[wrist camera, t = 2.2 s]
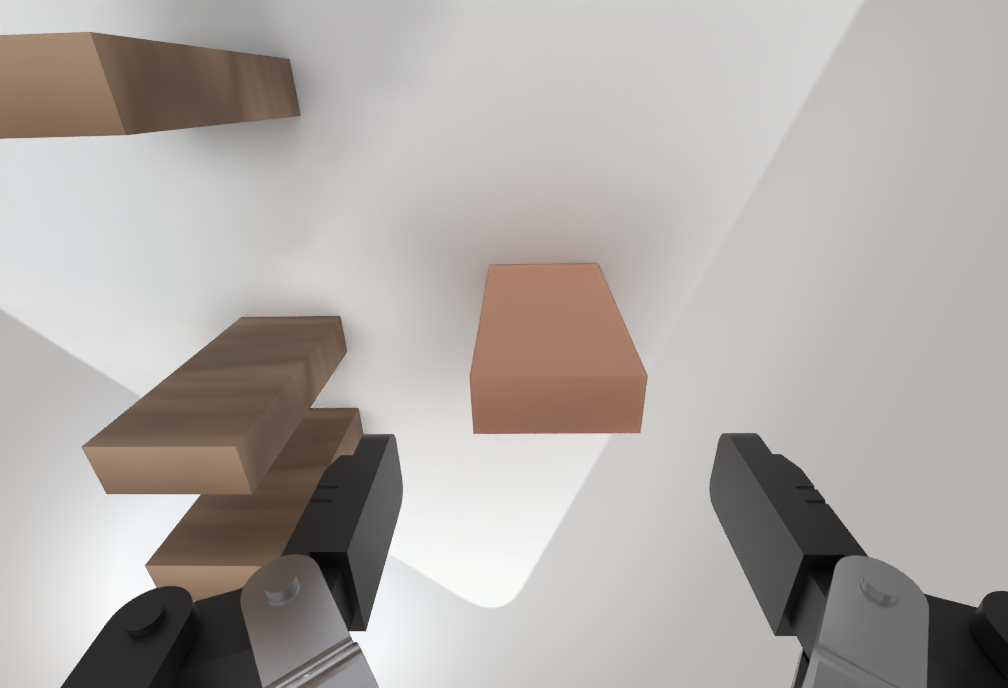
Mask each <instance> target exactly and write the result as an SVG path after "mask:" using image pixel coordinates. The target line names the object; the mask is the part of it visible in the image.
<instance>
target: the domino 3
mask: <svg viewBox="0 0 1008 688" xmlns="http://www.w3.org/2000/svg"><path fill="white" fill-rule="evenodd" d="M362 435H363V430H362V425H361V420H360V415H359V409H358V408H326V409H309V410H308V411H307V413H306V414H305V416H304V417H303V419H302V420H301V422H300V423H299V425H298V426H297V428H296V429H295V431H294V432H293V434H292V435H291V437H290V438H289V440H288V441H287V443H286V444H285V446H284V447H283V449H282V450H281V452H280V453H279V455H278V456H277V458H276V459H275V461H274V462H273V464H272V465H271V467H270V469H269V470H268V472H267V473H266V475H265V476H264V478H263V479H262V481H261V482H260V484H259V485H258V487H257V488H256V490H255V491H254V493H253V494H201V495H200V496H199V498H198V499H197V500H196V501H195V503H194V504H193V505H192V506H191V508H190V509H189V510H188V511H187V513H186V514H185V515H184V517H183V518H182V519H181V520H180V522H179V523H178V524H177V526H176V527H175V528H174V529H173V531H172V532H171V533H170V534H169V536H168V537H167V538H166V539H165V541H164V542H163V544H162V545H161V546H160V547H159V548H158V550H157V551H156V552H155V553H154V555H153V556H152V557H151V558H150V560H149V561H148V562H147V564H146V565H145V567H146V568H147V570H148V572H149V574H150V576H151V578H152V579H153V581H154V583H155V585H156V587H157V588H159V587H164V586H178V587H182V588H184V589H186V590H187V591H188V592H189V593H190V595H191V597H192V599H193V601H198V600H201V599H205V598H209V597H212V596H216V595H219V594H223V593H227V592H230V591H234V590H237V589H240V588H242V587H244V586H245V584H246V582H247V581H248V579H249V578H250V577H251V576H252V575H253V574H254V573H255V572H256V571H257V570H258V569H259V568H260V567H262V566H263V565H265V564H266V563H268V562H270V561H272V560H274V559H276V558H279V557H280V556H281V554H282V553H283V551H284V549H285V547H286V545H287V543H288V541H289V539H290V537H291V535H292V533H293V531H294V529H295V527H296V525H297V523H298V521H299V519H300V517H301V516H302V514H303V512H304V510H305V508H306V506H307V504H308V503H309V502H310V498H311V496H312V494H313V492H314V490H315V489H317V484H318V482H319V480H320V479H321V477H322V475H323V473H324V471H325V469H326V468H327V467H328V466H330V465H331V464H332V463H333V462H334V461H335V460H336V459H337V458H338V457H339V456H340V455H353V454H354V452H355V450H356V447H357V445H358V443H359V441H360V439H361V437H362Z"/></svg>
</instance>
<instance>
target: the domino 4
mask: <svg viewBox="0 0 1008 688" xmlns="http://www.w3.org/2000/svg"><path fill="white" fill-rule="evenodd" d="M646 384H647V373H646V371H645V369H644V367H643V364H642V362H641V360H640V358H639V355H638V353H637V351H636V348H635V346H634V344H633V342H632V339H631V337H630V335H629V333H628V330H627V328H626V326H625V324H624V321H623V319H622V317H621V315H620V312H619V310H618V308H617V306H616V303H615V301H614V299H613V297H612V294H611V292H610V290H609V288H608V285H607V283H606V281H605V278H604V276H603V274H602V272H601V269H600V267H599V265H598V263H573V264H515V265H489V270H488V276H487V281H486V287H485V293H484V298H483V304H482V310H481V315H480V321H479V327H478V332H477V338H476V344H475V349H474V355H473V361H472V366H471V372H470V390H471V404H472V418H473V432H474V434H521V433H640V432H641V424H642V416H643V408H644V400H645V392H646Z"/></svg>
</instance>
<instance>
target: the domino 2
mask: <svg viewBox="0 0 1008 688" xmlns="http://www.w3.org/2000/svg"><path fill="white" fill-rule="evenodd" d="M346 353H347V349H346V344H345V339H344V334H343V329H342V324H341V318H340V316H312V317H241V318H240V319H239V320H237V321H236V322H235V323H234V324H232V325H231V326H230V327H229V328H227V329H226V330H225V331H224V332H223V333H221V334H220V335H219V336H218V337H216V338H215V339H214V340H213V341H211V342H210V343H209V344H208V345H207V346H205V347H204V348H203V349H202V350H200V351H199V352H198V353H197V354H195V355H194V356H193V357H192V358H191V359H189V360H188V361H187V362H186V363H184V364H183V365H182V366H181V367H179V368H178V369H177V370H176V371H174V372H173V373H172V374H171V375H170V376H168V377H167V378H166V379H165V380H163V381H162V382H161V383H160V384H158V385H157V386H156V387H155V388H154V389H152V390H151V391H150V392H149V393H147V394H146V395H145V396H144V397H142V398H141V399H140V400H139V401H138V402H136V403H135V404H134V405H133V406H132V407H130V408H129V409H128V410H126V411H125V412H124V413H123V414H122V415H120V416H119V417H118V418H117V419H115V420H114V421H113V422H112V423H111V424H109V425H108V426H107V427H106V428H104V429H103V430H102V431H101V432H99V433H98V434H97V435H96V436H95V437H93V438H92V439H91V440H90V441H88V442H87V443H86V444H85V445H83V446H82V448H83V450H84V452H85V454H86V456H87V458H88V460H89V462H90V463H91V465H92V467H93V469H94V471H95V473H96V475H97V477H98V479H99V481H100V482H101V484H102V486H103V488H104V490H105V492H106V493H107V494H253V493H254V491H255V490H256V488H257V487H258V485H259V484H260V482H261V481H262V479H263V478H264V476H265V475H266V473H267V472H268V470H269V469H270V467H271V465H272V464H273V462H274V461H275V459H276V458H277V456H278V455H279V453H280V452H281V450H282V449H283V447H284V446H285V444H286V443H287V441H288V440H289V438H290V437H291V435H292V434H293V432H294V431H295V429H296V428H297V426H298V425H299V423H300V422H301V420H302V419H303V417H304V416H305V414H306V413H307V411H308V410H309V408H310V407H311V405H312V404H313V402H314V401H315V399H316V398H317V396H318V395H319V393H320V392H321V390H322V389H323V387H324V386H325V384H326V383H327V381H328V380H329V378H330V377H331V375H332V374H333V372H334V371H335V369H336V368H337V366H338V365H339V363H340V362H341V360H342V359H343V357H344V356H345V354H346Z"/></svg>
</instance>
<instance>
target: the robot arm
mask: <svg viewBox="0 0 1008 688" xmlns="http://www.w3.org/2000/svg"><path fill="white" fill-rule="evenodd" d="M402 495H403V483H402V475H401V469H400V462H399V456H398V449H397V442H396V438H395V436H394V435H393V434H364V435H362V437H361V439H360V441H359V443H358V445H357V447H356V450H355V452H354V454H353V455H340V456H339V457H338V458H337V459H336V460H335V461H334V462H333V463H332V464H331V465H330V466H328V467H327V468H326V469H325V471H324V473H323V475H322V477H321V479H320V480H319V482H318V484H317V489H315V490H314V492H313V494H312V496H311V498H310V502H309V503H308V504H307V506H306V508H305V510H304V512H303V514H302V516H301V517H300V519H299V521H298V523H297V525H296V527H295V529H294V531H293V533H292V535H291V537H290V539H289V541H288V543H287V545H286V547H285V549H284V551H283V553H282V554H281V556H280V557H279V558H276V559H274V560H272V561H270V562H268V563H266V564H265V565H263V566H262V567H260V568H259V569H258V570H257V571H256V572H255V573H254V574H253V575H252V576H251V577H250V578H249V579H248V581H247V582H246V584H245V586H244V587H242V588H240V589H237V590H234V591H230V592H227V593H223V594H219V595H216V596H212V597H209V598H205V599H201V600H198V601H193V599H192V597H191V595H190V593H189V592H188V591H187V590H186V589H184V588H182V587H178V586H164V587H159V588H155V589H153V590H150V591H148V592H145V593H143V594H141V595H139V596H137V597H136V598H134V599H132V600H131V601H130V602H128V603H127V604H125V605H124V606H123V607H122V608H120V609H119V610H118V611H117V612H116V613H115V614H114V615H113V616H112V617H111V619H110V620H109V621H108V622H107V623H106V625H105V626H104V628H103V629H102V630H101V632H100V633H99V635H98V636H97V637H96V639H95V640H94V642H93V643H92V644H91V646H90V647H89V649H88V650H87V651H86V653H85V654H84V656H83V657H82V658H81V660H80V661H79V663H78V664H77V665H76V667H75V668H74V669H73V671H72V672H71V674H70V675H69V676H68V678H67V679H66V681H65V682H64V683H63V685H62V686H61V688H379V686H378V684H377V682H376V680H375V678H374V676H373V673H372V671H371V669H370V667H369V665H368V663H367V660H366V658H365V656H364V654H363V652H362V650H361V648H360V646H359V645H358V643H357V642H355V643H354V642H353V640H352V638H351V636H350V634H349V631H366V629H367V625H368V622H369V618H370V615H371V610H372V607H373V604H374V600H375V597H376V593H377V590H378V586H379V582H380V579H381V575H382V572H383V568H384V565H385V561H386V558H387V554H388V551H389V547H390V544H391V540H392V537H393V533H394V529H395V526H396V522H397V519H398V515H399V512H400V508H401V503H402ZM710 498H711V502H712V505H713V508H714V510H715V512H716V514H717V517H718V518H719V521H720V523H721V525H722V527H723V529H724V531H725V533H726V535H727V537H728V539H729V541H730V544H731V545H732V548H733V549H734V552H735V554H736V556H737V558H738V560H739V562H740V564H741V566H742V569H743V570H744V573H745V575H746V577H747V579H748V581H749V583H750V585H751V587H752V589H753V591H754V593H755V596H756V598H757V600H758V602H759V604H760V606H761V608H762V610H763V612H764V614H765V616H766V618H767V621H768V622H769V625H770V627H771V629H772V631H773V633H774V635H775V636H797V638H798V640H799V642H800V644H801V646H802V647H803V648H802V651H801V653H800V656H799V659H798V662H797V667H796V670H795V674H794V678H793V682H792V686H791V688H1008V592H1007V591H996V592H992V593H990V594H987V595H986V596H985V597H984V599H983V600H982V602H981V603H980V605H979V607H978V608H976V607H972V606H969V605H965V604H961V603H957V602H953V601H949V600H945V599H941V598H937V597H933V596H930V595H927V594H924V593H923V592H922V590H921V589H920V588H919V587H918V585H916V584H915V583H914V581H913V580H911V579H910V578H909V577H908V576H907V575H905V574H904V573H903V572H901V571H899V570H898V569H897V568H895V567H893V566H891V565H889V564H887V563H885V562H883V561H880V560H877V559H874V558H871V557H868V555H867V554H866V553H865V552H864V550H863V549H862V548H861V546H860V545H859V544H858V543H857V541H856V540H855V539H854V537H853V536H852V535H851V533H850V532H849V531H848V529H847V528H846V527H845V526H844V524H843V523H842V522H841V520H840V519H839V518H838V516H837V515H836V514H835V513H834V511H833V510H832V509H831V507H830V506H829V505H828V504H826V503H825V499H824V498H823V497H822V496H821V494H820V493H819V492H818V490H815V489H814V485H813V484H812V483H811V481H810V480H809V479H808V477H807V476H806V475H805V473H804V472H803V471H802V469H800V468H799V467H798V466H796V465H795V464H794V463H792V462H791V461H789V460H788V459H787V458H785V457H784V456H783V455H781V454H772V453H771V451H770V450H769V449H768V447H767V446H766V444H765V443H764V442H763V441H762V439H761V438H760V436H759V435H757V434H756V433H724V434H722V435H721V436H720V438H719V442H718V446H717V451H716V456H715V460H714V465H713V470H712V474H711V479H710Z"/></svg>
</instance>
